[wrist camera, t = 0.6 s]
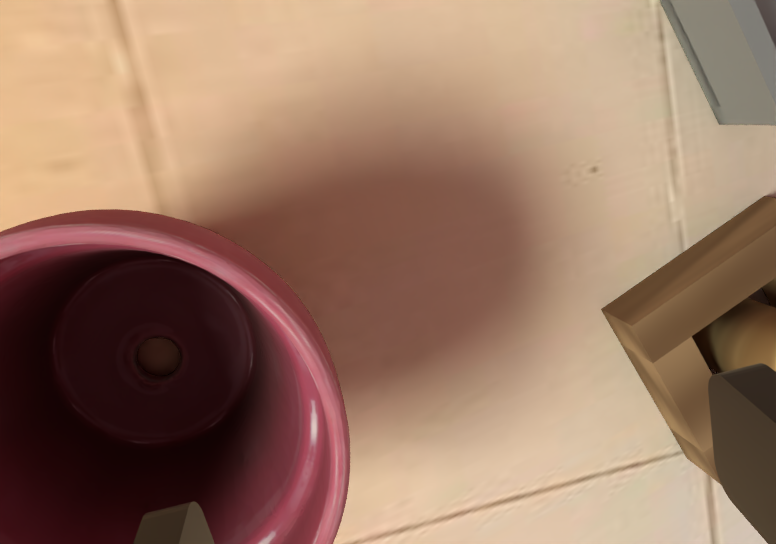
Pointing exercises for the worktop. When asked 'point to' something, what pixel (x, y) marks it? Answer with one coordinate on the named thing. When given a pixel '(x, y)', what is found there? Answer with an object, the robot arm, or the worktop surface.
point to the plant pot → (160, 387)
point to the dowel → (740, 337)
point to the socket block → (694, 319)
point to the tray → (731, 55)
